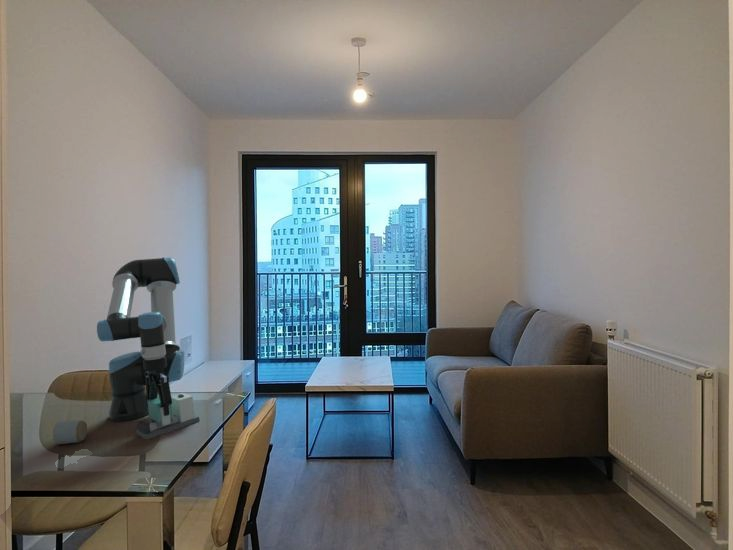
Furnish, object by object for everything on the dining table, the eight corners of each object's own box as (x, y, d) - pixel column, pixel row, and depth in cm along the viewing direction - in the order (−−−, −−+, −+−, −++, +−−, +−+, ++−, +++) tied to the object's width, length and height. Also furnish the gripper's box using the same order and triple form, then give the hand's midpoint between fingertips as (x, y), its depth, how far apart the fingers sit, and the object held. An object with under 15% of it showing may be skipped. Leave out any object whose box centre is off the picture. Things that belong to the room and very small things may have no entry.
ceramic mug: (79, 445, 162) (77, 422, 162) (53, 448, 161) (50, 425, 161) (93, 433, 173) (91, 412, 172) (69, 436, 172) (66, 414, 171)
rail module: (158, 427, 166) (156, 404, 166) (149, 423, 171) (147, 400, 170) (173, 422, 170) (170, 399, 169) (164, 418, 175) (161, 396, 174)
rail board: (146, 439, 163) (143, 410, 162) (136, 434, 168) (133, 405, 167) (199, 420, 177) (196, 393, 176) (188, 416, 182) (185, 390, 181)
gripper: (131, 356, 173) (138, 419, 174) (156, 363, 159) (164, 431, 161) (152, 351, 178) (159, 413, 180) (178, 358, 165) (185, 424, 166)
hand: (161, 421), depth 170 cm, fingers closed on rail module, 7 cm apart
